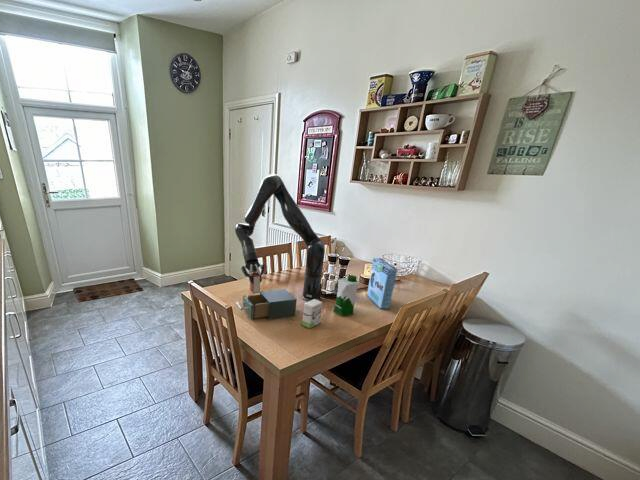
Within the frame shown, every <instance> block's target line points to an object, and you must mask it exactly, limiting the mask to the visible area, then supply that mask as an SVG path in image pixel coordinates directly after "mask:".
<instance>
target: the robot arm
mask: <svg viewBox="0 0 640 480" xmlns="http://www.w3.org/2000/svg"><path fill="white" fill-rule="evenodd" d="M255 196H256V197H255V199H254V201H253V203H251V206H250V208H249V209H248V211H247V213H246V214H245V216H244V222H245V223H241V222H240V223H237V224H236V225H235V228H234V230H235V231H234V232H235V235H236V237H237V239H238V241H239V242H240V245H241V250H242V256H243V260H244V264H245V265H242V266H241V267H240V270H241V272H242V273H243V275H244V277H246V278H248V280H249V283H251V284H252V283H253V282H254V281H253V277H252V273H258V274H259V275H260V284H261V283H262V281H263V277H262V276H263V275H264V274H265V264H264V263H263V264H261V263H259V258H258V254H257V250H256V247H255V243H254V240H253V238H252V237H251V236H252V235H253V233H254V231H255V227H256V223H257V222H258V220H259V218H260V217H261V215H262V213H263V210H264V207H265V206H266V204H267V202H268V201H269V199H270V198H271V197H272V196H274V198H275V199H276V200H277V201H278V203H279V207H280V210H281V213H282V216H283V217H284V220H285V221H286V222H287V224H288V225H289V227H290V229H291V230H292V231H294V233H296V234H297V235H298V236H299V237H300V238H301V239H302V241H303V242H304V244H305V246H306V248H307V250H306V257H305V258H306V260H305V270H304V280H303V290H302V296H301V297H302V300H305V301H307V302H309V301H311V300H313V299H316V300H318V301H320V300H321V297H322V295H323V294H324V295H326V296H332V295H335V294H336V293H333V292H329V293H328V294H326V293H327V292H326V291H325V290H322V289H323V283H322V278H323V277H322V276H323V269H324V262H325V254H326V245H325V243H324V242H323V241H322V240H321V239H320V237H319V236H318V235H317V233H316V232H315V231H314V230H313V228H312V226H311V224H310V223H309V221H308V219H307V217H306V216H305V214H304V212H303V211H302V210H301V209H300V207H299V206H298V204H297V203H296V201H295V199H294V198H293V197H292V195H291V194H290V193H289V190H288V189H287V187H286V185H285V183H284V181H283V180H282V178H281V176H280V175H278V174H275V173H271V174H269V175H266V177H265V178H263V179H262V181H261V183H260V185H259V189H258V192H257V193H256V195H255ZM401 280H402V279H401V278H399V279H395V283H396V282H400V281H401ZM365 289H366V290H367V289H368V286H364V287H358V288H357V291H361V290H365Z"/></svg>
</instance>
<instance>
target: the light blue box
mask: <svg viewBox="0 0 640 480" xmlns="http://www.w3.org/2000/svg"><path fill="white" fill-rule="evenodd" d="M397 272H398V269H397V268H396V267H394V266H393V265H391V263H389V262H387V261H386V260H384V259H383V258H381V257H375V258H374V257H373V259H372V265H371V272H370V276H369V281H368V286H367V287H368V288H367V292H366V296H367V297H368V298H369V299H370V300H371V301H373V303H374V304H375V305H376V306H377V307H378V308H379V309H380V310H389V309H390V305H391V301H392V296H393V292H394V287H395V283H396V282H395V280H396V279H397V278H396V277H397Z"/></svg>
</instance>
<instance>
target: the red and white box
mask: <svg viewBox="0 0 640 480" xmlns="http://www.w3.org/2000/svg"><path fill="white" fill-rule="evenodd" d="M252 277H253V281H254V282H253V283H252V284H251V283H250V282H249V283H250V284H249V290H250V292H251V293H252V294H260V291H261V283H260V275H259V274H258V273H256V272H252Z"/></svg>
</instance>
